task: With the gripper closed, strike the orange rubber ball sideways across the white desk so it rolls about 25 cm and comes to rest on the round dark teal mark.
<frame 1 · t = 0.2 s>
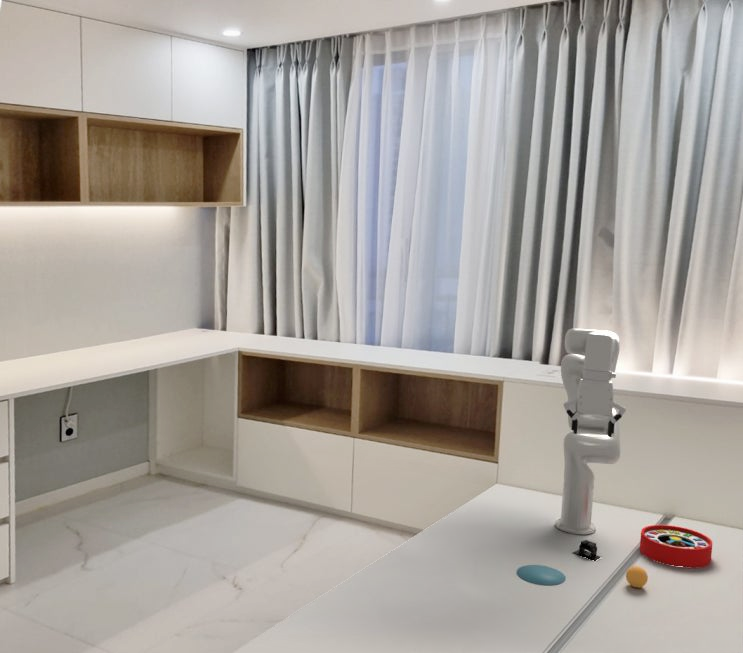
hand: (592, 434, 226), 36 cm above the table, tool pointing down, fingers open, 9 cm apart
ball: (636, 576, 210), on the table
toy clock: (674, 556, 235), on the table
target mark: (540, 575, 214), on the table
black boxy piece: (587, 558, 231), on the table
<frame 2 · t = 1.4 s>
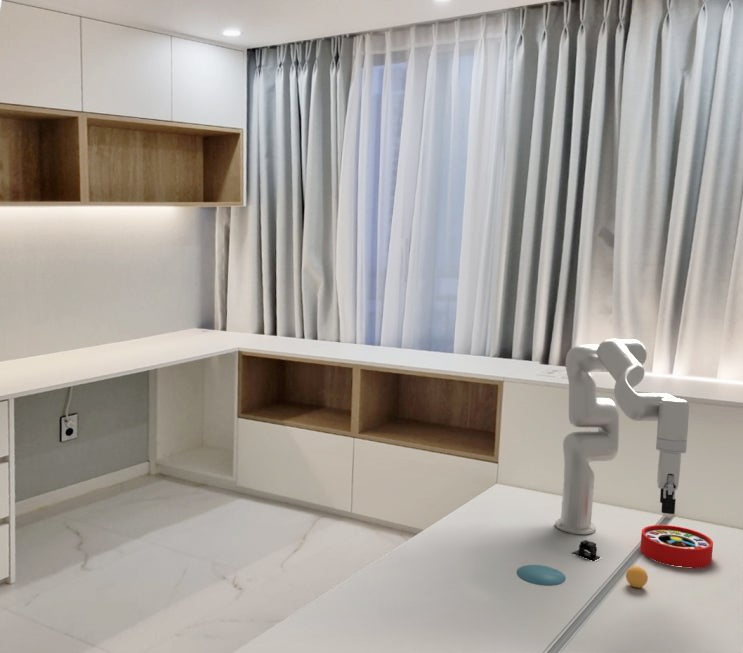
hand: (667, 508, 209), 22 cm above the table, tool pointing down, fingers open, 9 cm apart
nothing on the table moved.
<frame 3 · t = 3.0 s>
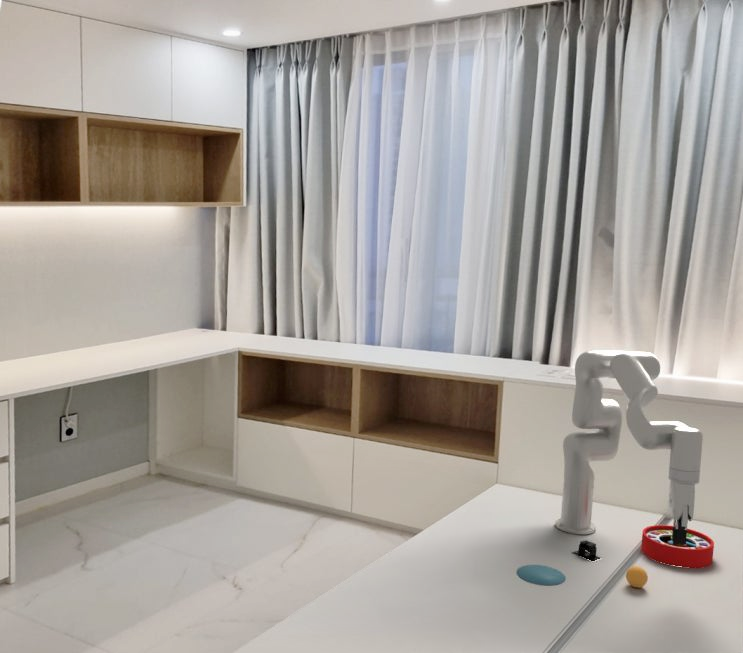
hand: (678, 542, 207), 14 cm above the table, tool pointing down, fingers closed
nothing on the table moved.
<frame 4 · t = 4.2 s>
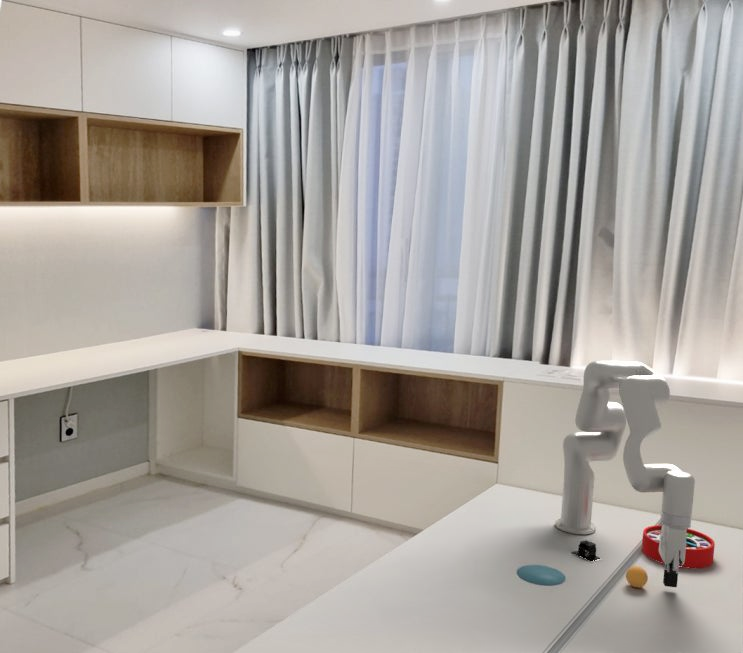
hand: (669, 585, 208), 1 cm above the table, tool pointing down, fingers closed
nothing on the table moved.
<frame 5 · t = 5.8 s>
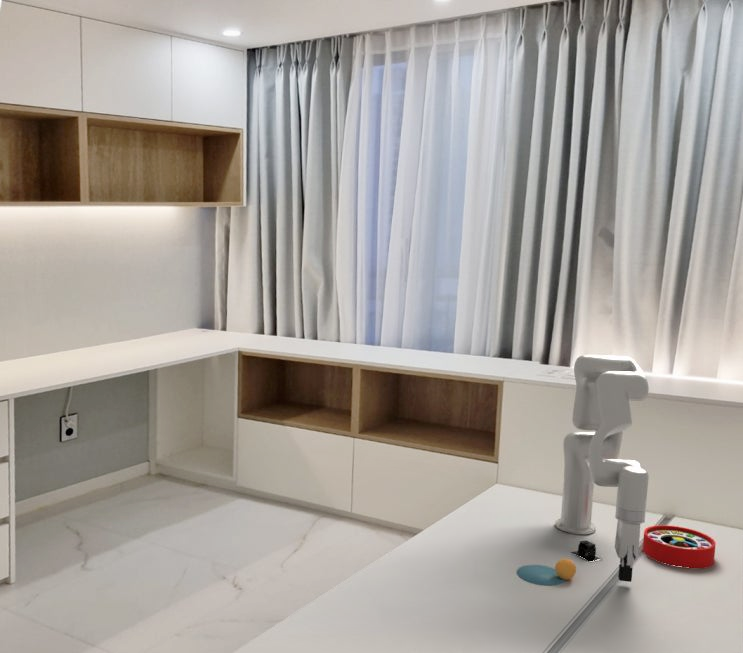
hand: (624, 579, 210), 2 cm above the table, tool pointing down, fingers closed
ball: (565, 568, 213), on the table
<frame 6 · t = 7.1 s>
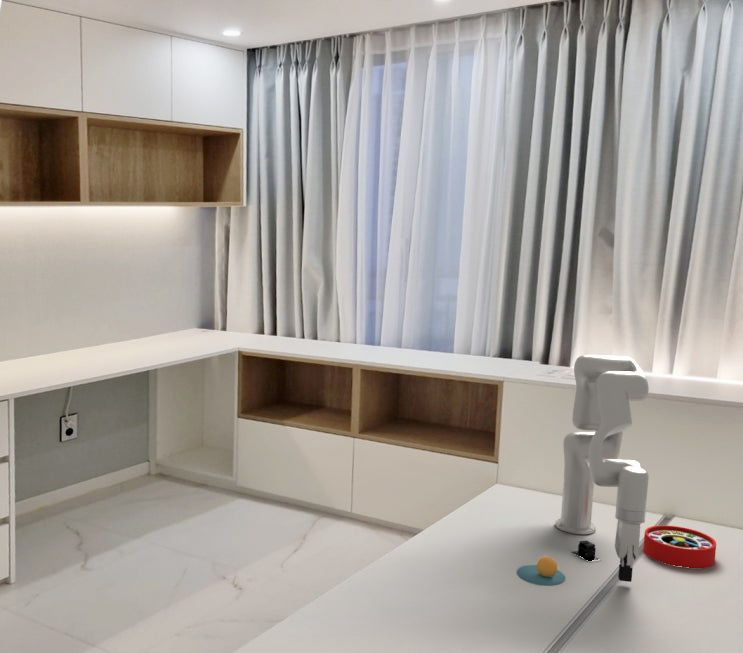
hand: (624, 579, 210), 2 cm above the table, tool pointing down, fingers closed
ball: (547, 566, 214), on the table
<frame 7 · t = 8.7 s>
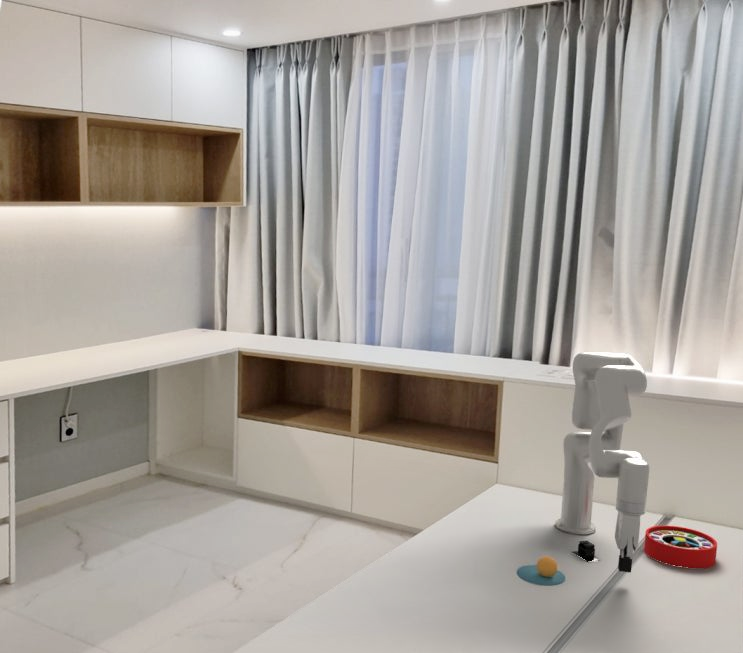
hand: (624, 570, 211), 4 cm above the table, tool pointing down, fingers closed
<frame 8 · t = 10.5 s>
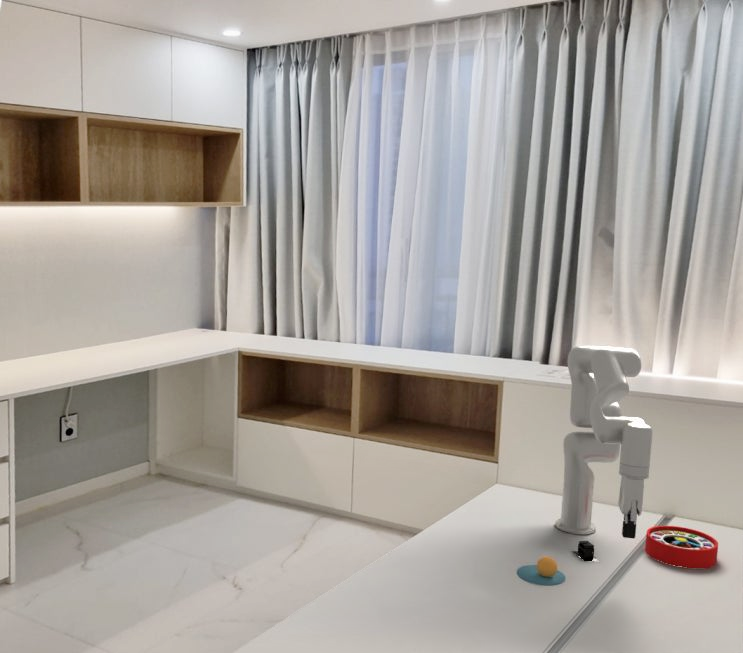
hand: (628, 536, 209), 13 cm above the table, tool pointing down, fingers closed
at the end: ball 1.5 cm from the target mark (horizontally); ball at rest at the end (0.0 cm/s); ball moved 23.6 cm from its start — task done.
